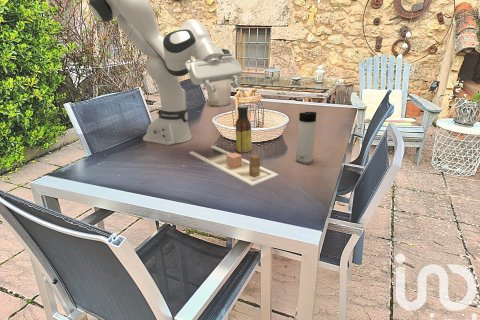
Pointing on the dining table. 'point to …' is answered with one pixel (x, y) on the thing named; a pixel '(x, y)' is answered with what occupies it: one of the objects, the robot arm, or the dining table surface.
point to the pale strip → (243, 167)
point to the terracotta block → (234, 160)
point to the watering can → (220, 93)
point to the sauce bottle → (243, 130)
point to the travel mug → (306, 137)
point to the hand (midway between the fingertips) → (225, 89)
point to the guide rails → (272, 174)
